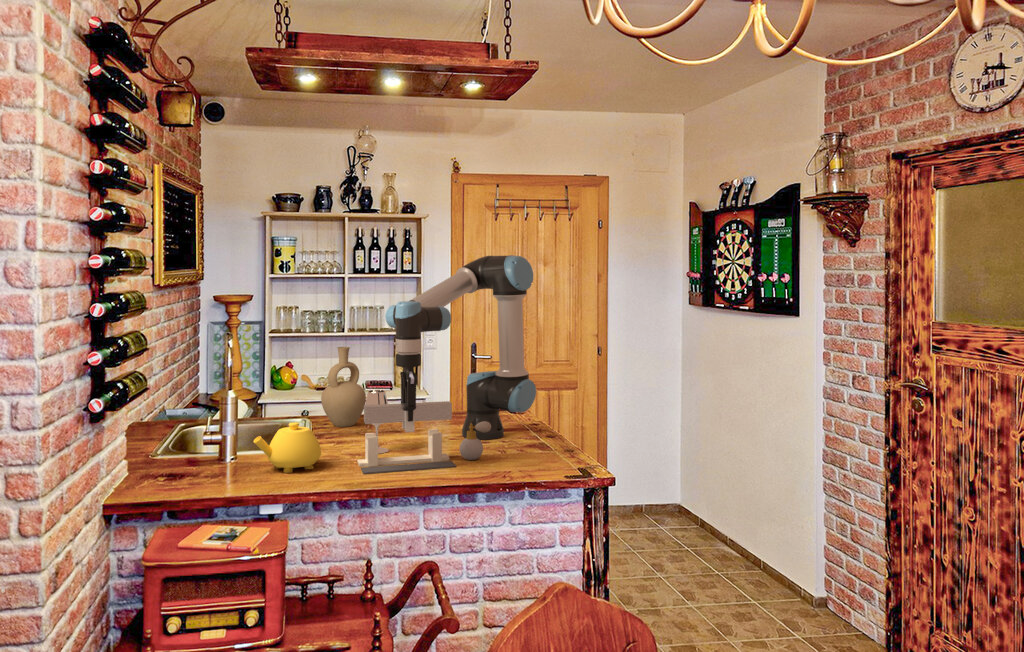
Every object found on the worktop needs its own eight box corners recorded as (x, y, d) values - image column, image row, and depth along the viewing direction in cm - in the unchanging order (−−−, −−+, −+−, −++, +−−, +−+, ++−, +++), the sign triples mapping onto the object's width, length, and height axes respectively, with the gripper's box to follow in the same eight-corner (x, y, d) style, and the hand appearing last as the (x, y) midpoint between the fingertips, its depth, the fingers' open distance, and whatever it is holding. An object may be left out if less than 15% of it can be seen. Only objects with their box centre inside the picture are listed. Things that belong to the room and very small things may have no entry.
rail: (448, 417, 242) (449, 401, 242) (451, 419, 239) (451, 403, 238) (363, 421, 234) (363, 405, 234) (365, 424, 231) (365, 407, 230)
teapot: (262, 479, 224) (261, 432, 223) (246, 468, 237) (245, 423, 236) (329, 469, 236) (328, 424, 235) (309, 459, 248) (309, 416, 247)
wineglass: (384, 454, 254) (383, 393, 253) (361, 453, 256) (360, 392, 254) (392, 449, 262) (392, 389, 260) (370, 447, 264) (369, 388, 262)
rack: (445, 456, 253) (445, 428, 252) (449, 460, 247) (449, 432, 246) (357, 462, 244) (357, 433, 244) (359, 467, 238) (359, 438, 238)
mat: (451, 462, 245) (451, 460, 245) (456, 467, 239) (456, 465, 239) (360, 469, 236) (360, 467, 236) (363, 474, 230) (363, 472, 230)
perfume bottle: (454, 458, 250) (454, 421, 249) (480, 454, 256) (480, 417, 255) (468, 463, 244) (468, 425, 243) (493, 458, 250) (493, 421, 249)
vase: (345, 419, 311) (344, 344, 309) (375, 424, 302) (374, 347, 299) (312, 426, 298) (311, 347, 296) (342, 432, 288) (341, 350, 286)
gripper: (391, 350, 242) (391, 425, 243) (400, 356, 226) (400, 436, 228) (415, 349, 244) (415, 424, 246) (426, 355, 228) (426, 435, 230)
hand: (408, 430), depth 237 cm, fingers closed on rail, 4 cm apart
